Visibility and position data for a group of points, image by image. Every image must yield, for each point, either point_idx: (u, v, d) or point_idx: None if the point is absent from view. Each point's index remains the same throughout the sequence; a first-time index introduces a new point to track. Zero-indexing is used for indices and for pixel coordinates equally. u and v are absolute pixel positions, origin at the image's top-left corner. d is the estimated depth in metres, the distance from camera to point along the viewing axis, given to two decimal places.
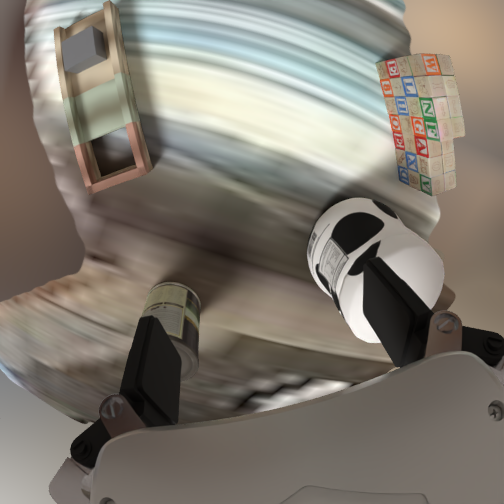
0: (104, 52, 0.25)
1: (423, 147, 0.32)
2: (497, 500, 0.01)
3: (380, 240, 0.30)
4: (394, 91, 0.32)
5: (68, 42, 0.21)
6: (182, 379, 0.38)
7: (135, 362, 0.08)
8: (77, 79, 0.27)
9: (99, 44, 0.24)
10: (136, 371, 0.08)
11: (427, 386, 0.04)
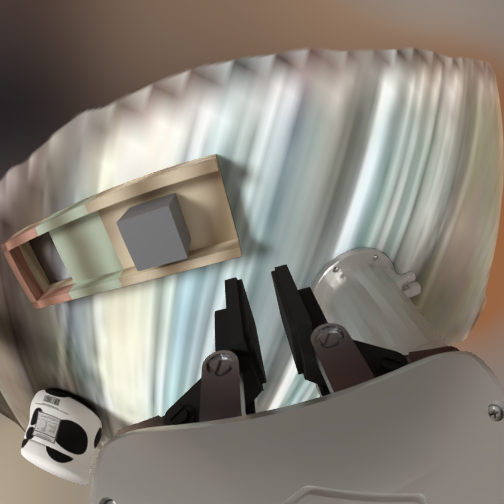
0: None
1: None
2: (497, 500, 0.01)
3: (73, 458, 0.30)
4: None
5: (164, 220, 0.22)
6: None
7: (236, 317, 0.10)
8: (120, 208, 0.25)
9: None
10: (242, 324, 0.09)
11: (427, 386, 0.04)
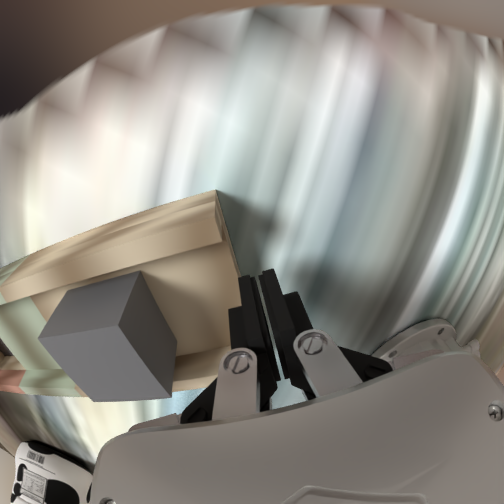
0: None
1: None
2: (497, 500, 0.01)
3: None
4: None
5: (117, 348, 0.10)
6: None
7: (252, 314, 0.09)
8: (55, 290, 0.13)
9: None
10: (258, 322, 0.09)
11: (427, 386, 0.04)
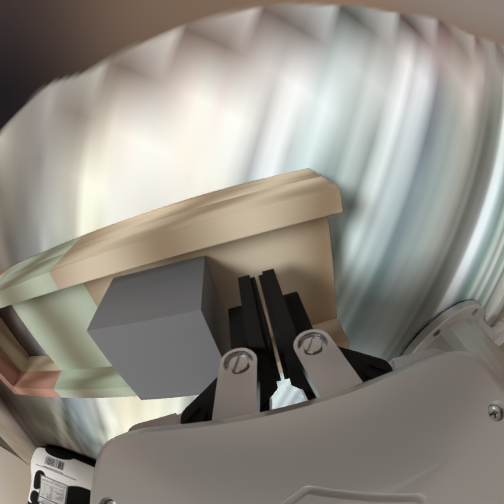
0: None
1: None
2: (497, 500, 0.01)
3: None
4: None
5: (191, 336, 0.10)
6: None
7: (252, 314, 0.09)
8: (121, 273, 0.13)
9: None
10: (258, 322, 0.09)
11: (427, 386, 0.04)
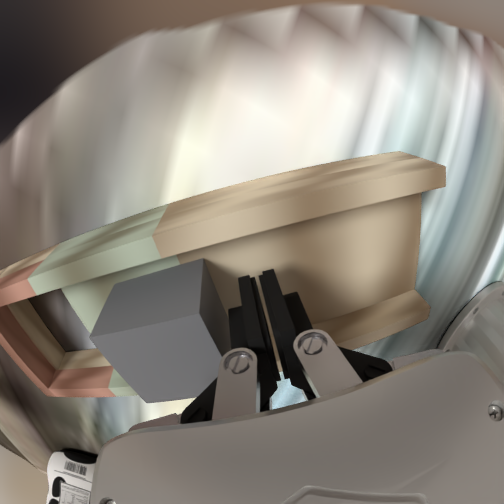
0: None
1: None
2: (497, 500, 0.01)
3: None
4: None
5: (192, 339, 0.10)
6: None
7: (252, 314, 0.09)
8: (230, 242, 0.13)
9: None
10: (259, 322, 0.09)
11: (427, 386, 0.04)
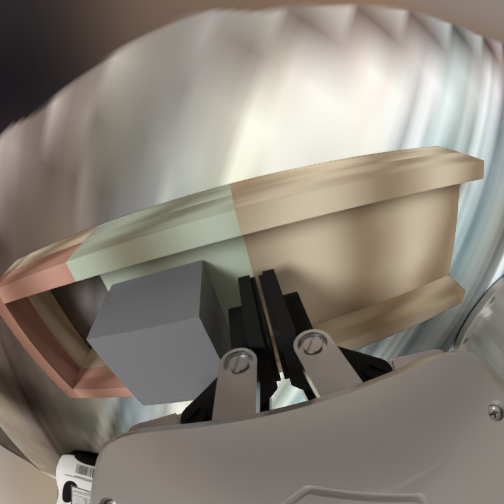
0: None
1: None
2: (497, 500, 0.01)
3: None
4: None
5: (191, 343, 0.10)
6: None
7: (252, 314, 0.09)
8: (299, 223, 0.12)
9: None
10: (259, 322, 0.09)
11: (427, 386, 0.04)
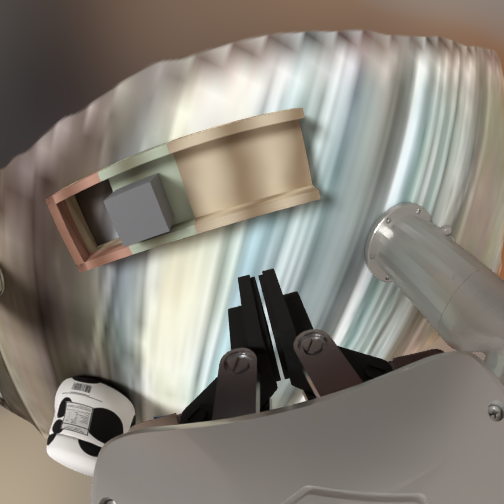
0: None
1: None
2: (497, 500, 0.01)
3: None
4: None
5: (147, 196, 0.23)
6: None
7: (252, 315, 0.09)
8: (200, 152, 0.26)
9: None
10: (258, 322, 0.09)
11: (427, 386, 0.04)
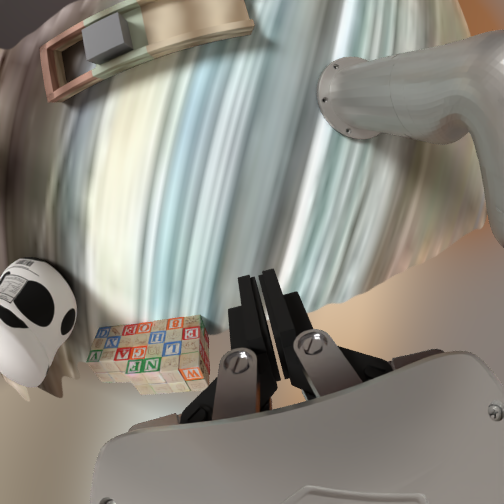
0: (105, 60, 0.24)
1: (122, 355, 0.39)
2: (497, 500, 0.01)
3: (28, 327, 0.27)
4: (170, 331, 0.44)
5: (113, 21, 0.19)
6: None
7: (252, 314, 0.09)
8: (160, 5, 0.22)
9: (107, 55, 0.23)
10: (258, 321, 0.09)
11: (427, 386, 0.04)
